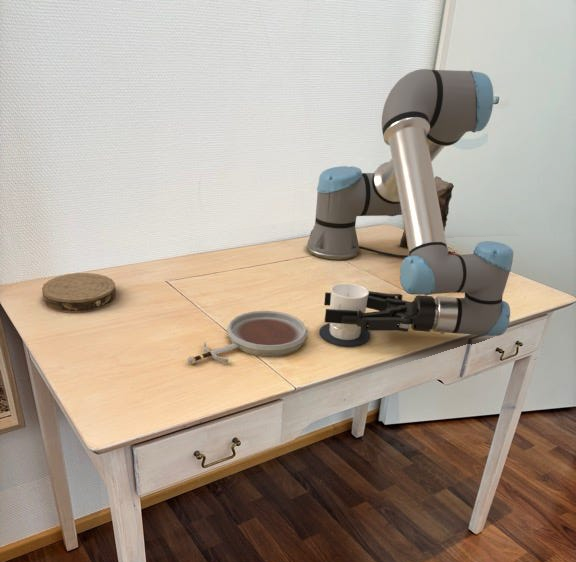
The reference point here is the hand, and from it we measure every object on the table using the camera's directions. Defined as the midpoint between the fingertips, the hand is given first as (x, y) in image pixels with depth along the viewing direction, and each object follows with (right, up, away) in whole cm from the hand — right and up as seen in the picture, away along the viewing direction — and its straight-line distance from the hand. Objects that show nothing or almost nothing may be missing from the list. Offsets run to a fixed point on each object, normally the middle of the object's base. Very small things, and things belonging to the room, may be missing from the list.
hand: (325, 306), depth 123 cm
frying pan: (-17, -9, -3) cm, 19 cm away
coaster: (+4, -6, +3) cm, 8 cm away
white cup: (+4, -5, +3) cm, 8 cm away
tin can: (-56, +3, +12) cm, 57 cm away
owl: (+33, +26, +57) cm, 71 cm away
